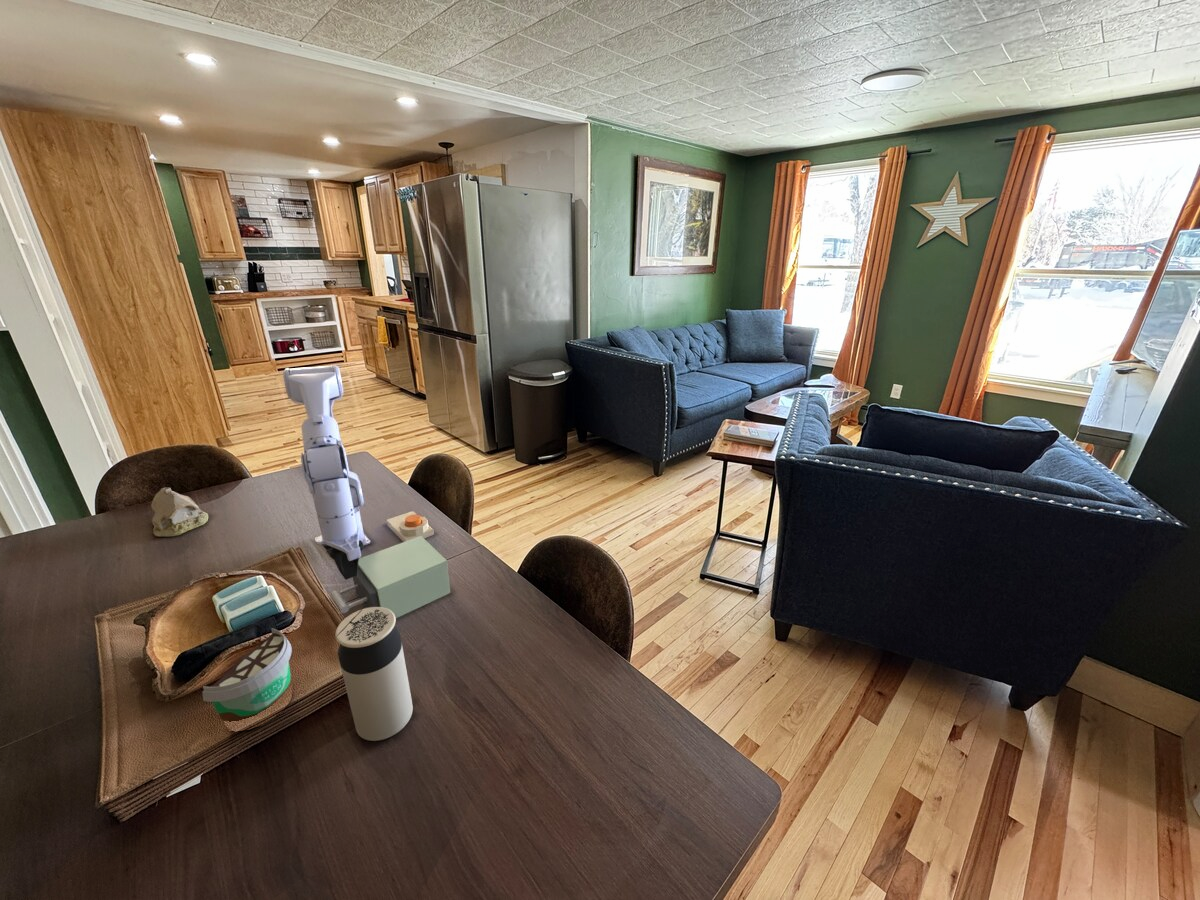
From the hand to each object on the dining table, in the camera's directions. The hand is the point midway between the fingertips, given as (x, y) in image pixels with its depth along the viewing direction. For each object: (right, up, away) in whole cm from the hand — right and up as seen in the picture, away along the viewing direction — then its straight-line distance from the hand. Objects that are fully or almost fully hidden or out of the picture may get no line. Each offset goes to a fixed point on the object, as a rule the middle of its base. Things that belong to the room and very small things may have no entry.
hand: (349, 574), depth 88 cm
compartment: (+4, -7, +7) cm, 10 cm away
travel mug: (+14, -18, -17) cm, 28 cm away
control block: (-1, +3, +32) cm, 32 cm away
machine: (+7, -6, +10) cm, 13 cm away
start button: (+1, +5, +29) cm, 29 cm away
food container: (-3, -17, -16) cm, 23 cm away
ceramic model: (-60, +4, +32) cm, 68 cm away
